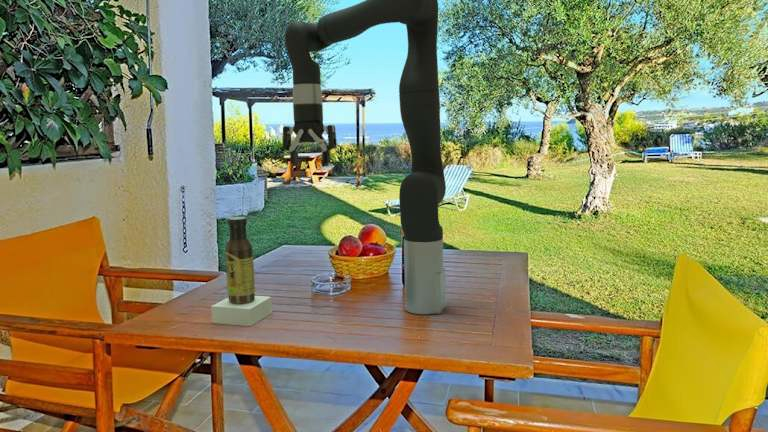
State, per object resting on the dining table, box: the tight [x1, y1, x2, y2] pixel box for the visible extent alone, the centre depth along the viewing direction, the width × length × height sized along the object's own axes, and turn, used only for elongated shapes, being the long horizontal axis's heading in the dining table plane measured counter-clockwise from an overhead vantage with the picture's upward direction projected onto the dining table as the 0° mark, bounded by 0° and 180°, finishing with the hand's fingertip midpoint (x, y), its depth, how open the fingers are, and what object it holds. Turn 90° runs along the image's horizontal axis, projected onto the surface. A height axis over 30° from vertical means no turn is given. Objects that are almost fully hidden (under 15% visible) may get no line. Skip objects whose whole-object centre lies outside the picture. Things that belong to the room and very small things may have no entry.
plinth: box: [210, 295, 273, 327], centre depth 138 cm, size 10×10×4 cm
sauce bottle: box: [224, 216, 256, 304], centre depth 136 cm, size 6×6×20 cm
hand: (310, 165), depth 153 cm, fingers open, 8 cm apart
